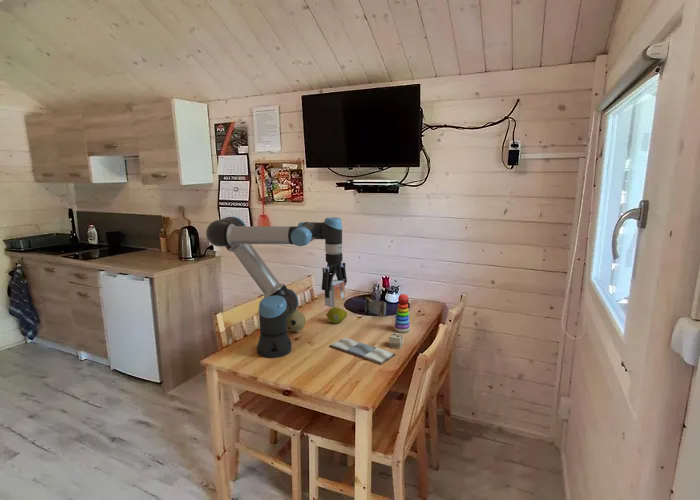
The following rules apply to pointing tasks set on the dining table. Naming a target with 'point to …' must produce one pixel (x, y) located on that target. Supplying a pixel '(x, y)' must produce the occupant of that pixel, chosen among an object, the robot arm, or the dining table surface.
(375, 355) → the game board
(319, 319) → the dining table surface
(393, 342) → the die
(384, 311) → the grey slab
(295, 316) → the toy pig
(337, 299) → the small box
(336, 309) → the green fruit
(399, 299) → the stacking toy
